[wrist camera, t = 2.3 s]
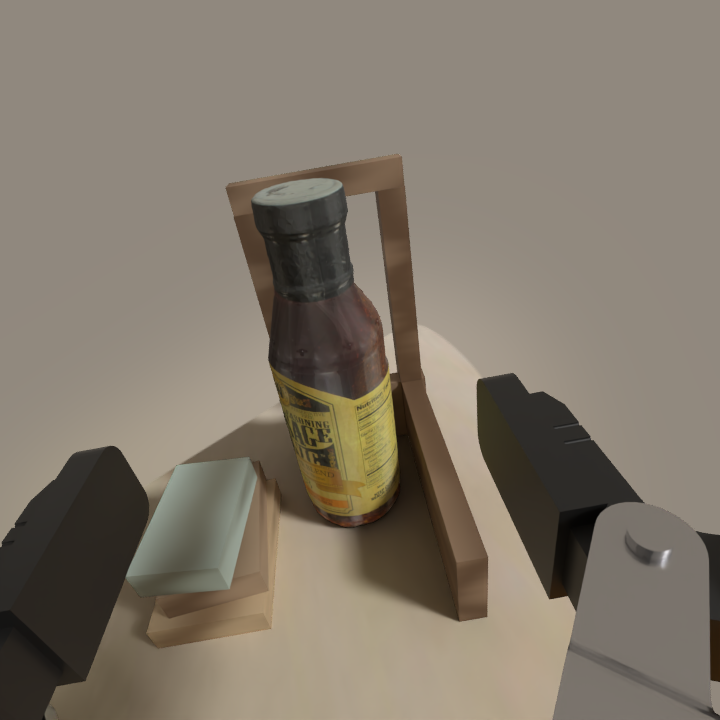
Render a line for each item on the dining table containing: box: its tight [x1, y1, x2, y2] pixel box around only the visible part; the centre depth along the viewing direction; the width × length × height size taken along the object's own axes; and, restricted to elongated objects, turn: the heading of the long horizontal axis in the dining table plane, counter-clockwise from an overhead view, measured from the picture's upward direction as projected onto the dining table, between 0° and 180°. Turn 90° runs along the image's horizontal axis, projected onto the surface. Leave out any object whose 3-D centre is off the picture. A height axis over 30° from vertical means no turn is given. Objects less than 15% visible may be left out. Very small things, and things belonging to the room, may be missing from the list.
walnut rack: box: [226, 154, 488, 622], centre depth 23 cm, size 10×15×20 cm, turn 6°
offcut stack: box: [125, 457, 281, 649], centre depth 26 cm, size 6×9×5 cm
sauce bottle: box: [251, 178, 400, 527], centre depth 24 cm, size 7×6×20 cm
